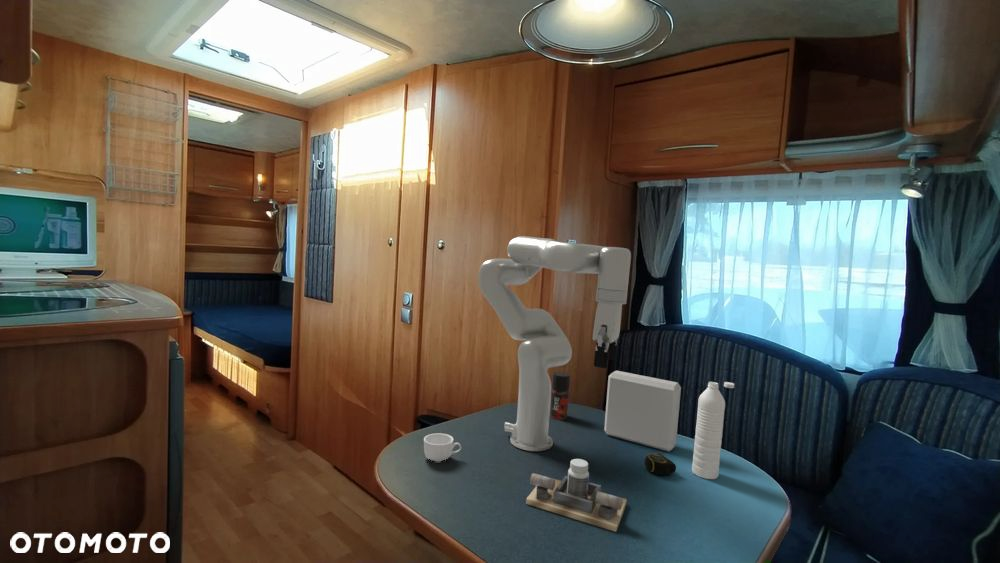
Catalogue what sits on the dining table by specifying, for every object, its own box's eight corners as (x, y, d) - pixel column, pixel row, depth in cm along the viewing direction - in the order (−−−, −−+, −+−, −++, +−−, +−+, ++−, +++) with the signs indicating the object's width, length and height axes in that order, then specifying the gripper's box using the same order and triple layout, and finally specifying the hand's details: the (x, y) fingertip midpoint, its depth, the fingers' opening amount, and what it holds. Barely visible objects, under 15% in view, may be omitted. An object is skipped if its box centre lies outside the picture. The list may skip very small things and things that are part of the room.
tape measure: (676, 476, 121) (677, 462, 120) (654, 478, 118) (655, 464, 118) (660, 464, 127) (661, 451, 127) (639, 466, 125) (640, 453, 125)
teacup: (421, 465, 118) (422, 444, 117) (424, 451, 125) (425, 432, 125) (460, 466, 118) (461, 445, 118) (460, 453, 126) (461, 433, 126)
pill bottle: (590, 503, 102) (593, 467, 102) (570, 504, 101) (573, 467, 101) (582, 492, 107) (584, 457, 106) (563, 493, 106) (565, 458, 105)
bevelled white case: (677, 445, 141) (683, 381, 139) (671, 454, 134) (677, 387, 133) (610, 427, 152) (615, 368, 151) (602, 435, 145) (607, 373, 144)
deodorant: (549, 418, 157) (552, 375, 156) (550, 412, 163) (553, 371, 162) (566, 420, 156) (570, 377, 155) (567, 414, 162) (570, 372, 161)
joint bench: (525, 503, 103) (527, 479, 102) (543, 480, 113) (545, 458, 113) (616, 532, 94) (618, 505, 94) (626, 504, 105) (628, 480, 105)
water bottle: (698, 479, 119) (707, 385, 118) (687, 467, 126) (695, 378, 124) (731, 480, 120) (740, 387, 118) (718, 469, 126) (727, 380, 124)
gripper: (604, 292, 124) (598, 354, 126) (587, 297, 109) (581, 367, 110) (632, 295, 121) (626, 359, 122) (619, 301, 105) (612, 373, 107)
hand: (604, 363), depth 116 cm, fingers open, 9 cm apart
